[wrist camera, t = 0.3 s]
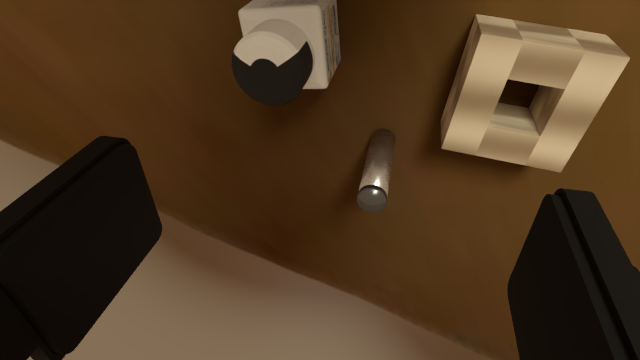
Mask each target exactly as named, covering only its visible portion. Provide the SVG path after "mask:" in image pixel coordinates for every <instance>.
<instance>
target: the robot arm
mask: <svg viewBox="0 0 640 360" xmlns="http://www.w3.org/2000/svg"><path fill="white" fill-rule="evenodd" d="M161 232H162V225H161V221H160V218H159V216H158V213H157V210H156V207H155V204H154V201H153V198H152V195H151V192H150V189H149V186H148V183H147V180H146V178H145V175H144V172H143V169H142V166H141V163H140V160H139V157H138V154H137V151H136V149H135V148H134V147H133V146H132V145H131V144H130V142H129V141H128V140H127V139H124V138H117V137H109V136H100V137H98V138H96V139H95V140H93V141H92V142H91V143H90V144H88V145H87V146H86V147H84V148H83V149H82V150H80V151H79V152H78V153H76V154H75V155H74V156H73V157H71V158H70V159H69V160H67V161H66V162H65V163H63V164H62V165H61V166H59V167H58V168H57V169H56V170H54V171H53V172H52V173H51V174H49V175H48V176H46V177H45V178H44V179H43V180H41V181H40V182H39V183H37V184H36V185H35V186H33V187H32V188H31V189H29V190H28V191H27V192H25V193H24V194H23V195H21V196H20V197H19V198H18V199H16V200H15V201H14V202H12V203H11V204H10V205H9V206H7V207H6V208H4V209H3V210H2V211H1V212H0V360H27V359H28V358H29V356H31V358H32V359H33V360H62V359H63V357H64V356H65V355H66V354H68V353H70V352H72V351H73V350H74V349H75V348H76V347H77V346H78V344H79V343H80V342H81V340H82V339H83V338H84V337H85V335H86V334H87V333H88V331H89V330H90V329H91V327H92V326H93V325H94V324H95V322H96V321H97V319H98V318H99V317H100V316H101V314H102V313H103V311H104V310H105V309H106V308H107V306H108V305H109V304H110V303H111V301H112V300H113V299H114V297H115V296H116V295H117V293H118V292H119V291H120V289H121V288H122V287H123V285H124V284H125V283H126V282H127V280H128V279H129V277H130V276H131V275H132V274H133V272H134V271H135V270H136V268H137V267H138V266H139V265H140V263H141V262H142V261H143V259H144V258H145V256H146V255H147V254H148V253H149V251H150V250H151V249H152V247H153V246H154V245H155V244H156V242H157V241H158V240H159V238H160V236H161ZM508 299H509V305H510V310H511V315H512V321H513V326H514V331H515V336H516V342H517V347H518V352H519V358H520V360H640V272H639V271H638V269H637V268H636V267H634V266H633V265H632V264H631V262H630V260H629V258H628V256H627V254H626V252H625V251H624V249H623V247H622V245H621V243H620V241H619V239H618V237H617V235H616V234H615V232H614V230H613V228H612V226H611V224H610V222H609V220H608V218H607V217H606V215H605V213H604V211H603V209H602V207H601V205H600V203H599V202H598V200H597V198H596V196H595V195H594V193H592V192H588V191H579V190H571V189H562V188H560V189H558V190H557V191H556V192H555V193H554V195H552V194H547V195H546V196H545V197H544V199H543V201H542V203H541V205H540V208H539V210H538V212H537V215H536V217H535V220H534V222H533V224H532V227H531V229H530V231H529V234H528V236H527V238H526V241H525V243H524V246H523V248H522V250H521V253H520V255H519V257H518V260H517V262H516V265H515V267H514V269H513V272H512V274H511V276H510V279H509V282H508Z"/></svg>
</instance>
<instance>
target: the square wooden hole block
mask: <svg viewBox="0 0 640 360" xmlns="http://www.w3.org/2000/svg"><path fill="white" fill-rule="evenodd" d="M629 60H630V57H629V56H628V55H626V54H625V53H624V52H623V51H622V50H621V49H620V48H619V47H618V46H617V45H616V44H615V43H614V42H613V41H612V40H611V39H610V38H609V37H608V36H607V35H605V34H598V33H592V32H586V31H579V30H573V29H567V28H561V27H554V26H548V25H542V24H535V23H529V22H523V21H517V20H510V19H504V18H498V17H492V16H485V15H479V14H476V15H475V18H474V21H473V24H472V27H471V30H470V33H469V36H468V39H467V42H466V45H465V48H464V51H463V54H462V57H461V60H460V63H459V66H458V70H457V73H456V76H455V79H454V82H453V85H452V88H451V91H450V94H449V97H448V100H447V103H446V106H445V109H444V112H443V115H442V118H441V149H446V150H451V151H456V152H461V153H466V154H471V155H476V156H481V157H486V158H491V159H496V160H501V161H506V162H511V163H516V164H521V165H526V166H531V167H536V168H541V169H546V170H551V171H556V172H561V171H562V169H563V168H564V166H565V164H566V163H567V161H568V159H569V158H570V156H571V155H572V153H573V151H574V150H575V148H576V146H577V145H578V143H579V141H580V140H581V138H582V137H583V135H584V133H585V132H586V130H587V128H588V127H589V125H590V123H591V122H592V120H593V119H594V117H595V115H596V114H597V112H598V110H599V109H600V107H601V105H602V104H603V102H604V100H605V99H606V97H607V96H608V94H609V92H610V91H611V89H612V87H613V86H614V84H615V82H616V81H617V79H618V78H619V76H620V74H621V73H622V71H623V69H624V68H625V66H626V64H627V63H628V61H629ZM507 79H509V80H515V81H521V82H526V83H532V84H538V85H539V88H538V90H537V92H536V94H535V96H534V98H533V100H532V102H531V104H530V106H529V108H527V107H521V106H516V105H510V104H505V103H499V102H498V101H499V98H500V96H501V94H502V91H503V89H504V86H505V84H506V82H507Z"/></svg>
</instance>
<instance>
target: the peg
mask: <svg viewBox="0 0 640 360" xmlns="http://www.w3.org/2000/svg"><path fill="white" fill-rule="evenodd" d="M394 145H395V136H394V134H393V133H392V132H391V131H390V130H387V129H378V130H376V131H374V132H373V134H372V135H371V139H370V144H369V148H368V152H367V157H366V161H365V165H364V170H363V174H362V178H361V183H360V187H359V191H358V196H357V203H358V205H359V207H360V208H362V209H363V210H365V211H367V212H379V211H381V210H383V209H384V208H385V206H386V202H387V195H388V188H389V181H390V174H391V167H392V159H393V152H394Z"/></svg>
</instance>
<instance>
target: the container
mask: <svg viewBox="0 0 640 360" xmlns="http://www.w3.org/2000/svg"><path fill="white" fill-rule="evenodd" d="M238 15H239V20H240V25H241V29H242V34H243V38H242V39H241V40H240V41H239V42H238V43H237V45H236V47H235V49H234V51H233V55H232V69H233V73H234V76H235V78H236V81H237V82H238V84H239V86H240V87H241V88H242V89H243V91H244V92H245V93H246V94H248V95H249V96H250V97H251V98H253V99H254V100H256V101H258V102H261V103H263V104H267V105H283V104H286V103H289V102H291V101H292V100H294V99H295V98H296V97H297V96H298V95H299V94H300V92H301V91H302V89H326V88H327V87H328V85H329V83H330V81H331V79H332V77H333V74H334V72H335V70H336V68H337V66H338V64H339V62H340V60H341V56H340V42H339V28H338V14H337V1H336V0H253V1H251V2H250V3H248V4H247V5H246V6H244V7H243V8H241V9H240V10H239V12H238Z"/></svg>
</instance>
